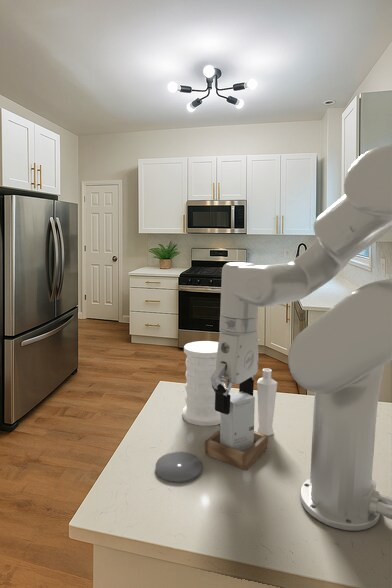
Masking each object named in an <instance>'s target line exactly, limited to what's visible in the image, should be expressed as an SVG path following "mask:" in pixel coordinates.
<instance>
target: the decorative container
mask: <svg viewBox="0 0 392 588" xmlns="http://www.w3.org/2000/svg"><path fill="white" fill-rule="evenodd" d="M218 342H219V341H211V340H201V341H200V340H199V341H192V342H188V343H185V344H184V346H183V352H184V355H186V359H185V367H186V371H185V374H184V375H185V379H186V383H185V385H184V386H185V387H184V388H185V391H186V394H185V399H184V400H185V404H186V405H185V406H184V407H183V408H182V418H183V420H184V421H185V422H187V423H189V424H192V425H195V426H200V427H211V426H217V425H219V424H220V422H221V412H218V411H216V410H215V393H214V389H213V388H212V383H211V376H212V374H213V373H214V372H215V370H216V359H217V349H218ZM222 385H223V387H224V388H225V387H226V383H224V382H222Z"/></svg>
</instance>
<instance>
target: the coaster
mask: <svg viewBox="0 0 392 588" xmlns="http://www.w3.org/2000/svg"><path fill="white" fill-rule="evenodd" d="M202 471H203V463H202V460H201V459H200V457H198V456H197V455H196V454H193V453H190V452H186V451H173V452H168V453H166V454H164V455H162V456H160V457H159V458H158V459H157V460H156V462H155V473H156V475H157V476H158V478H160V479H162V480H164V481H165V482H168V483H176V484H180V483H187V482H191V481H193V480H195V479H197V478H198V477H199V476H200V475H201V474H202Z"/></svg>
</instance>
